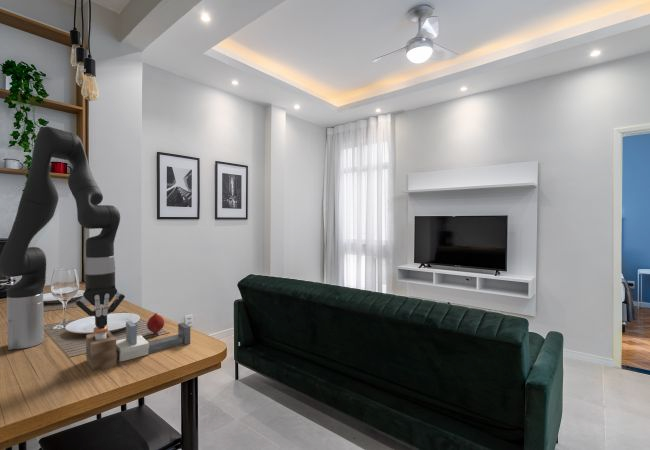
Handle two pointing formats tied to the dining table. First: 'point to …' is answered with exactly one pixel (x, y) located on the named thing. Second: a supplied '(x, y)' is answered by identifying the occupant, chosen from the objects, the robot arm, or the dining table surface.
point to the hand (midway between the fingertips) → (101, 327)
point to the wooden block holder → (101, 351)
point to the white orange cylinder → (100, 333)
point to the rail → (169, 340)
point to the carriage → (131, 344)
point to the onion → (155, 323)
